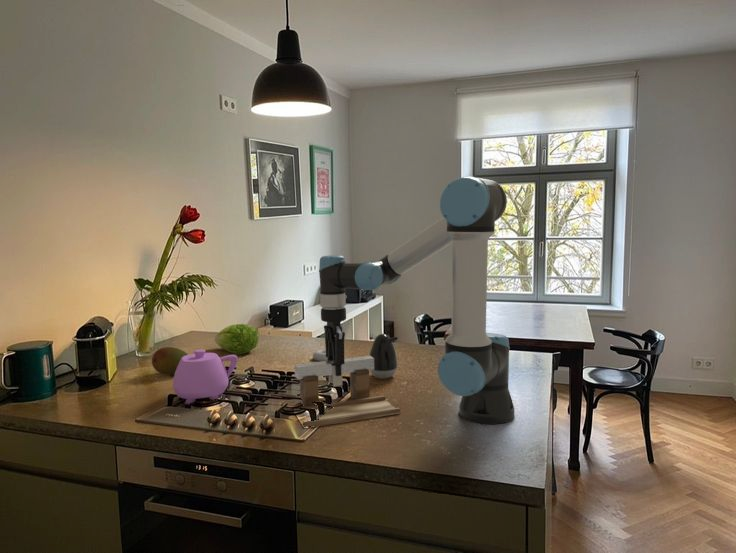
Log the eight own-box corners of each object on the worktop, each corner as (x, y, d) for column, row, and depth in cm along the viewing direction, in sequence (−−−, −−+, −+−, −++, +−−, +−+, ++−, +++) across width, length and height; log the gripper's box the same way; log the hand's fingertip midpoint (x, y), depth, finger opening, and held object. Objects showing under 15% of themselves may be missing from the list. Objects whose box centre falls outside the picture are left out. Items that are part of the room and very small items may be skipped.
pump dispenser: (396, 381, 178) (395, 337, 176) (365, 380, 180) (365, 336, 178) (400, 373, 188) (399, 331, 186) (371, 371, 190) (371, 330, 188)
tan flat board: (400, 413, 149) (400, 408, 149) (303, 428, 139) (303, 423, 139) (383, 399, 160) (383, 395, 160) (293, 413, 150) (293, 408, 150)
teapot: (234, 381, 180) (232, 338, 179) (242, 400, 162) (240, 352, 160) (173, 389, 173) (170, 344, 171) (174, 409, 155) (171, 359, 153)
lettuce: (232, 331, 235) (209, 319, 225) (267, 330, 222) (244, 318, 213) (223, 358, 230) (199, 347, 220) (258, 359, 217) (234, 348, 207)
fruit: (148, 374, 190) (146, 347, 189) (181, 366, 199) (180, 341, 198) (162, 380, 182) (160, 352, 181) (196, 372, 191) (194, 346, 190)
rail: (374, 369, 161) (374, 358, 161) (297, 379, 153) (297, 367, 152) (370, 366, 164) (369, 355, 164) (294, 376, 156) (294, 364, 156)
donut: (333, 355, 215) (310, 357, 211) (333, 347, 214) (310, 348, 211) (341, 361, 205) (316, 363, 202) (341, 352, 205) (316, 354, 201)
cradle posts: (369, 399, 160) (369, 370, 159) (305, 409, 153) (304, 378, 152) (362, 393, 166) (361, 365, 165) (300, 402, 159) (299, 372, 158)
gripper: (354, 310, 150) (356, 390, 152) (336, 302, 165) (339, 375, 168) (329, 312, 147) (331, 393, 150) (313, 304, 163) (316, 378, 165)
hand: (335, 383), depth 159 cm, fingers closed on rail, 3 cm apart
